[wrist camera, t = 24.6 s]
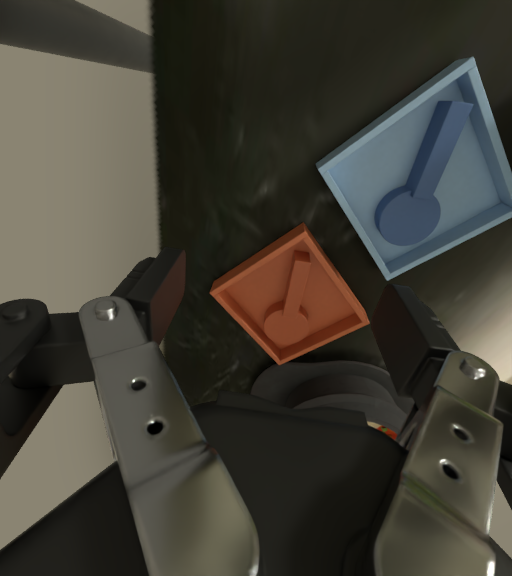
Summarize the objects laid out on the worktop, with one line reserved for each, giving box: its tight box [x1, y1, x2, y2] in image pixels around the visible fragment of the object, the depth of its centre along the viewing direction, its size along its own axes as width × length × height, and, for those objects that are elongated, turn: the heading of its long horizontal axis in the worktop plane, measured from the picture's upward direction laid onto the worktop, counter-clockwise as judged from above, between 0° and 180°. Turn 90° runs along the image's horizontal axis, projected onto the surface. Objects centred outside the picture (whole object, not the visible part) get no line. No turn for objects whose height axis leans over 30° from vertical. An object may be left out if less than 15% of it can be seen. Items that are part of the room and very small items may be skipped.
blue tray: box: [316, 57, 512, 281], centre depth 26 cm, size 13×12×2 cm
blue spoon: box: [374, 101, 474, 246], centre depth 26 cm, size 12×5×2 cm, turn 173°
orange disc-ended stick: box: [264, 250, 311, 345], centre depth 33 cm, size 12×5×2 cm, turn 173°
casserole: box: [250, 360, 415, 440], centre depth 40 cm, size 25×19×8 cm
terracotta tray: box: [210, 222, 369, 365], centre depth 34 cm, size 13×12×2 cm
